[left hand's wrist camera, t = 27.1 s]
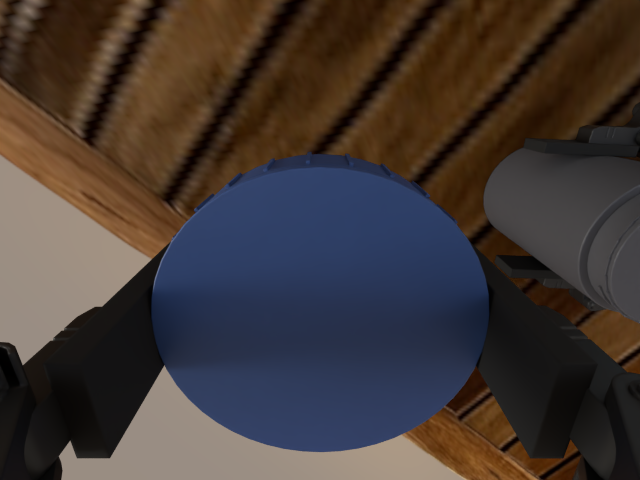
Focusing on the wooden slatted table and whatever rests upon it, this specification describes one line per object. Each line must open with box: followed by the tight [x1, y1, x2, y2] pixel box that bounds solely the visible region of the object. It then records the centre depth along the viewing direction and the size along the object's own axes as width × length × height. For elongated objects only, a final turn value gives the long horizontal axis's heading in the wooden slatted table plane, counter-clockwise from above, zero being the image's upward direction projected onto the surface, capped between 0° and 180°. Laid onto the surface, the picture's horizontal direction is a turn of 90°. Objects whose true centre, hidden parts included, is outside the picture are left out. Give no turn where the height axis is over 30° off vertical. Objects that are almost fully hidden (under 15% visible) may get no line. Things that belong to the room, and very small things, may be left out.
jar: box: [484, 148, 640, 323], centre depth 26 cm, size 9×9×15 cm
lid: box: [151, 152, 489, 452], centre depth 11 cm, size 10×10×2 cm
